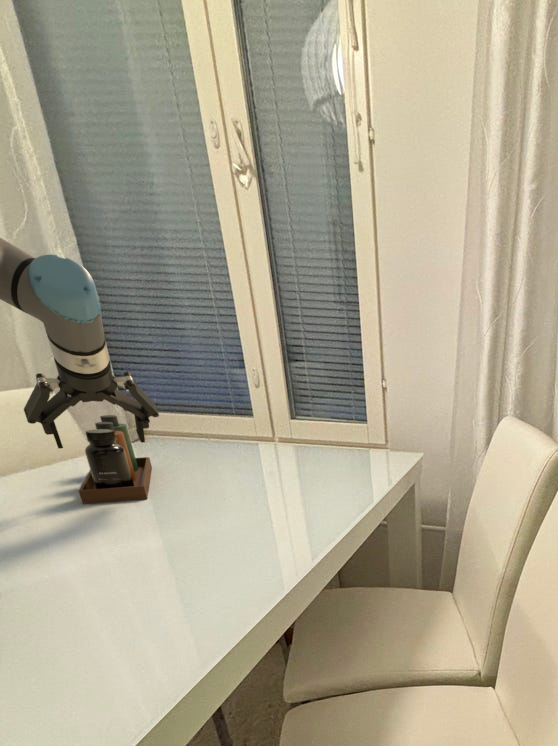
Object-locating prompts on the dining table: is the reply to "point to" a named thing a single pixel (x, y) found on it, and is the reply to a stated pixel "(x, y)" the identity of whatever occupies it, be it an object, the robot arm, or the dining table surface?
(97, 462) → the supplement bottle
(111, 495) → the tray
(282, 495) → the dining table surface
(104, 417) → the row bottles
